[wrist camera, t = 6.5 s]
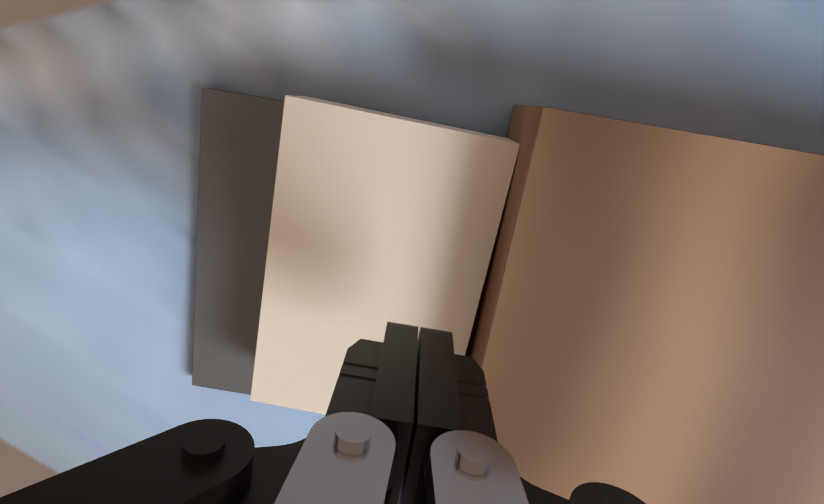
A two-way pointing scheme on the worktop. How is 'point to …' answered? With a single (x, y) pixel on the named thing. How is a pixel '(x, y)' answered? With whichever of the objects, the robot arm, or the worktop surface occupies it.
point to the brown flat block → (657, 313)
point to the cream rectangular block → (371, 239)
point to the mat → (232, 233)
